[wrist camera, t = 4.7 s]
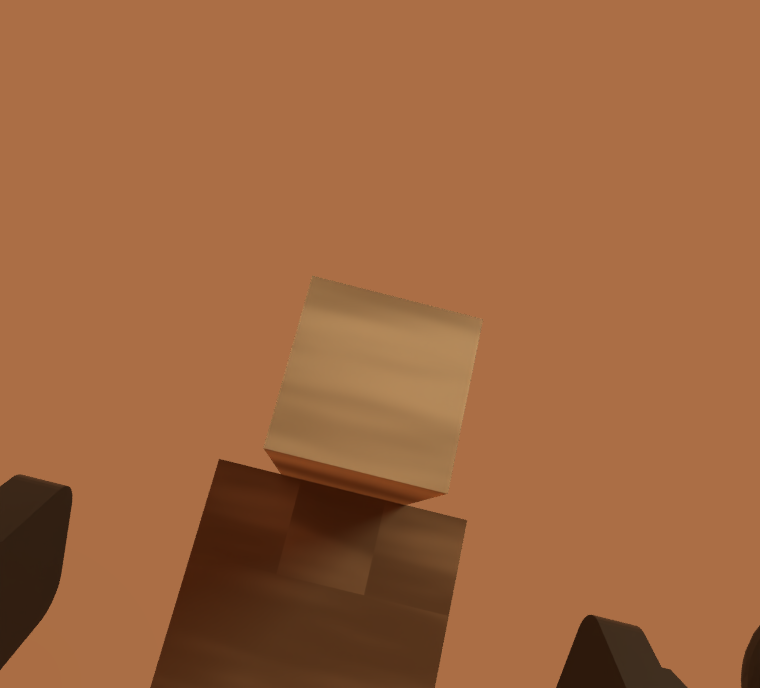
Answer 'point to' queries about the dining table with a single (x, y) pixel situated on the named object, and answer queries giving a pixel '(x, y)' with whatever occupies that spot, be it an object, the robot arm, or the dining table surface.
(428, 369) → the bar
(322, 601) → the stand
